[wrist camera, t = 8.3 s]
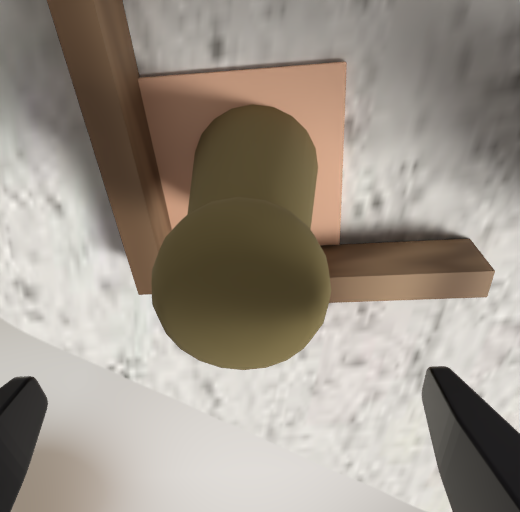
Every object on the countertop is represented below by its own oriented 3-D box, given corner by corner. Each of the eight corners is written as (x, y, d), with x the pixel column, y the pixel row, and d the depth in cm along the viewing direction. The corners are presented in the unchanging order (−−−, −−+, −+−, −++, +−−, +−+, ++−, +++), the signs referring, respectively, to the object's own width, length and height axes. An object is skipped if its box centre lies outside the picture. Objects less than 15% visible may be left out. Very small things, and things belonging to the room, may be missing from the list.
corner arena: (564, -146, 13) (630, -177, 11) (463, 262, 22) (487, 297, 20) (58, -90, 15) (13, -107, 12) (157, 275, 24) (143, 309, 21)
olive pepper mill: (185, 106, 18) (90, 228, 9) (320, 101, 18) (366, 222, 9) (202, 224, 21) (145, 400, 12) (315, 221, 21) (345, 401, 12)
